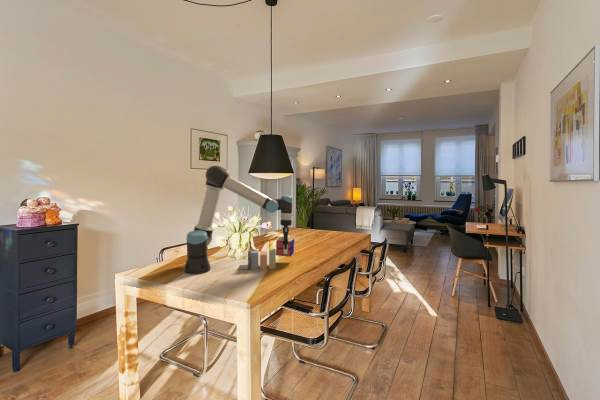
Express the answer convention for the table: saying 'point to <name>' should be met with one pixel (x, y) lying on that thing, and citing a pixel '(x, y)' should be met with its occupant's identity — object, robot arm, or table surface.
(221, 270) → the table surface
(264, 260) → the book
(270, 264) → the book
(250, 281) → the table surface
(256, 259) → the book
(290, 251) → the puzzle cube
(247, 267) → the bookend
